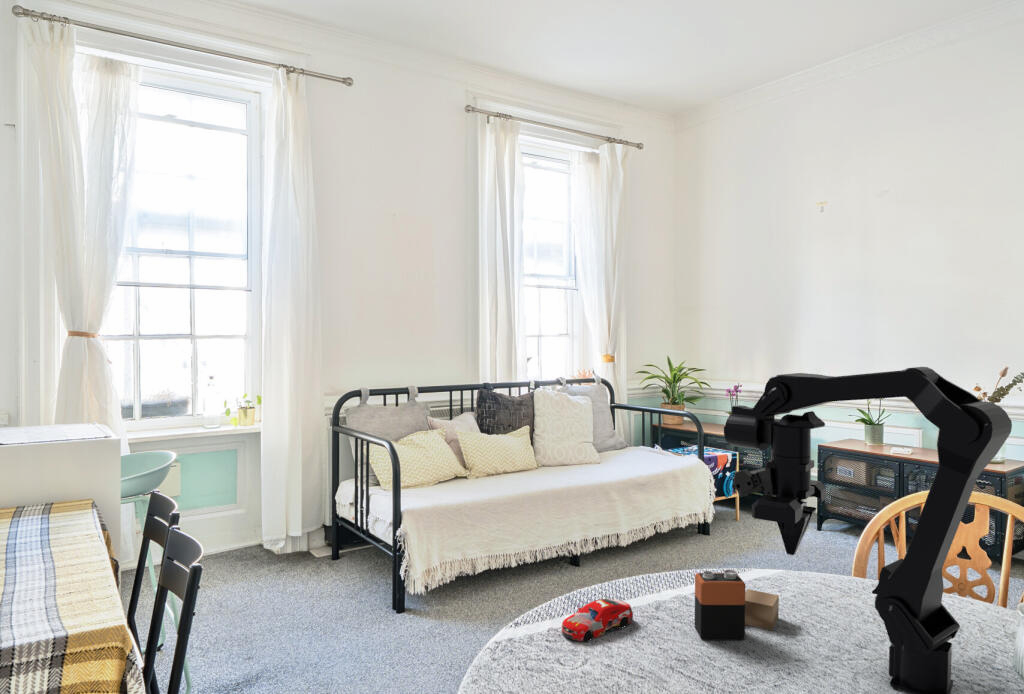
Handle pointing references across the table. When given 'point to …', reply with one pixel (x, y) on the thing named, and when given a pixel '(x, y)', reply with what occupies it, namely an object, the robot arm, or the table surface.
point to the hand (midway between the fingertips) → (791, 554)
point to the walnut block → (761, 609)
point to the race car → (597, 619)
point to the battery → (720, 605)
